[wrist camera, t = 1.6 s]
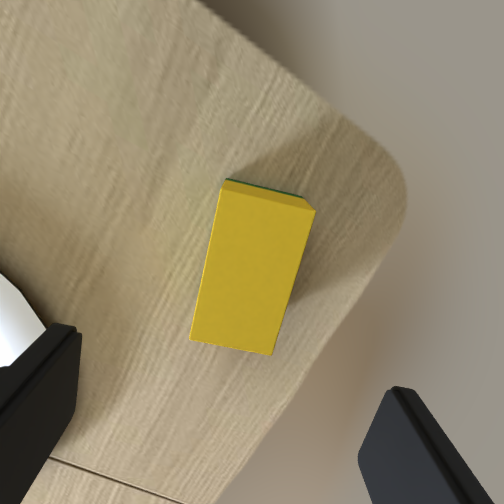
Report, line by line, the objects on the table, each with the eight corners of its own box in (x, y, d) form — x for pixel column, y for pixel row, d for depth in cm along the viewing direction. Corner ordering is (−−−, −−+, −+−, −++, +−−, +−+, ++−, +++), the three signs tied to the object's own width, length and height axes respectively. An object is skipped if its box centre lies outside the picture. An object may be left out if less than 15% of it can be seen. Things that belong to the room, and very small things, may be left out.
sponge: (225, 177, 21) (220, 187, 16) (302, 196, 21) (316, 211, 17) (198, 303, 24) (188, 340, 19) (267, 317, 24) (271, 356, 20)
